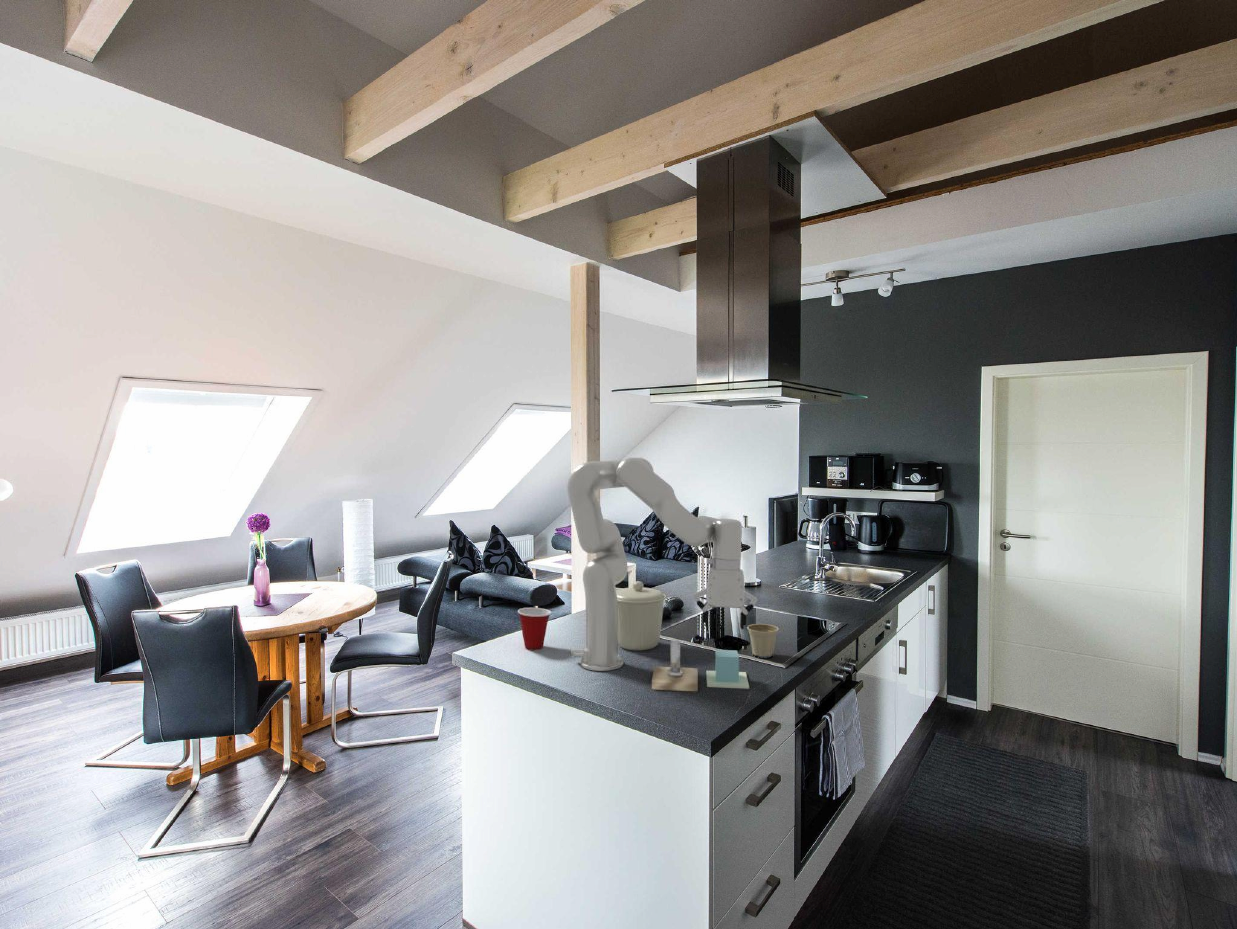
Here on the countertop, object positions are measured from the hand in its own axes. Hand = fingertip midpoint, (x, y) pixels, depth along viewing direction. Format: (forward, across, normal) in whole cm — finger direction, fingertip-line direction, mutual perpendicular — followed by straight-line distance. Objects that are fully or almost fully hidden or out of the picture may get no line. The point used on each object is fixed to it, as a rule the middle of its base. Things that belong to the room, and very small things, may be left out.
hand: (724, 626), depth 171 cm
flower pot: (+15, +13, +23) cm, 30 cm away
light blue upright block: (+14, +1, 0) cm, 14 cm away
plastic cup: (+17, -59, +23) cm, 65 cm away
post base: (+15, -13, -3) cm, 20 cm away
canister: (+16, -26, +28) cm, 41 cm away
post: (+13, -13, -3) cm, 19 cm away
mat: (+15, +1, 0) cm, 15 cm away
